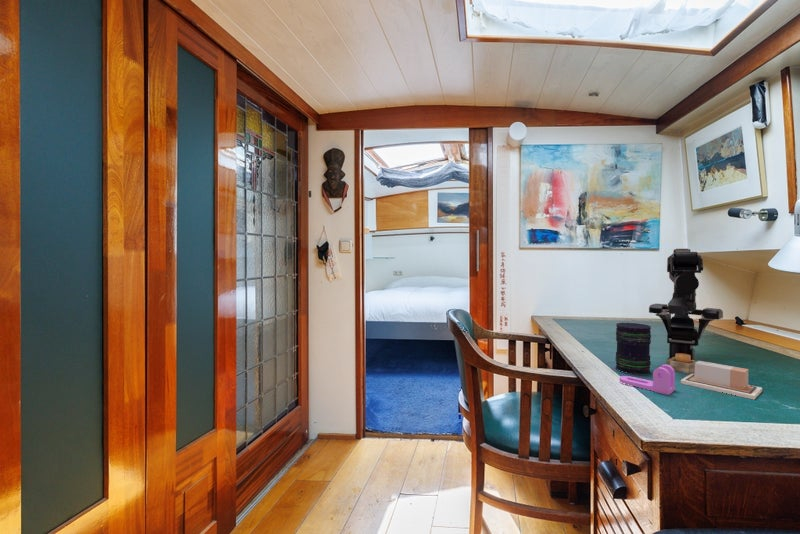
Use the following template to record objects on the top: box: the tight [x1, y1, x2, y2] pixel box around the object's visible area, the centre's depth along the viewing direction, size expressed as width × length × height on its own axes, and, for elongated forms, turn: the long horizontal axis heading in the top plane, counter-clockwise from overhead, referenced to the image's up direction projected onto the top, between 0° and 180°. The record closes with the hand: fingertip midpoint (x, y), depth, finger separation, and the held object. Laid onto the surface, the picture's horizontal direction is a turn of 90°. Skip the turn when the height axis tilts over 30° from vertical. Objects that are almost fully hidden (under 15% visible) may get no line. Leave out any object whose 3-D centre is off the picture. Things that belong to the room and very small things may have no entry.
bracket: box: [619, 364, 676, 396], centre depth 108 cm, size 13×6×7 cm, turn 40°
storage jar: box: [615, 322, 652, 375], centre depth 123 cm, size 10×10×15 cm
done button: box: [675, 353, 691, 364], centre depth 124 cm, size 4×4×3 cm
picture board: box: [680, 374, 763, 401], centre depth 107 cm, size 16×10×1 cm, turn 38°
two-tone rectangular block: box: [694, 360, 750, 391], centre depth 107 cm, size 11×4×5 cm, turn 38°
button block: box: [666, 357, 699, 375], centre depth 124 cm, size 7×7×3 cm
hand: (683, 337), depth 123 cm, fingers open, 8 cm apart
